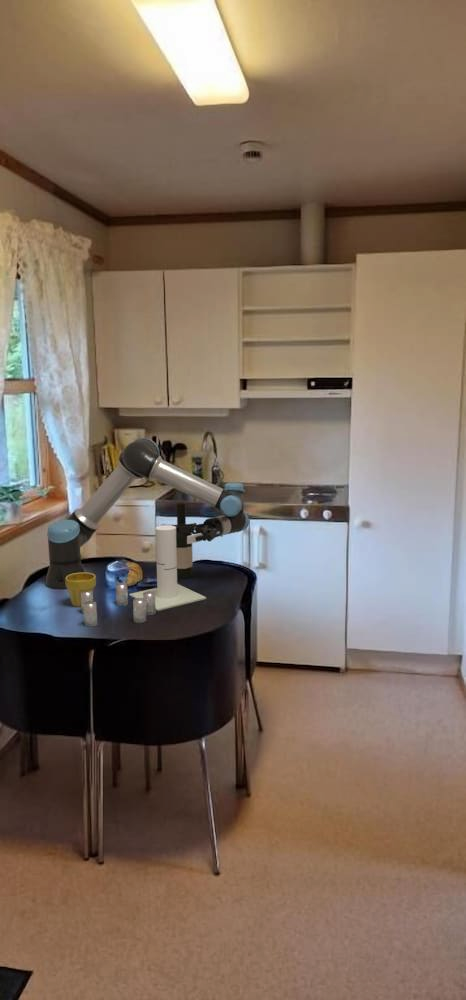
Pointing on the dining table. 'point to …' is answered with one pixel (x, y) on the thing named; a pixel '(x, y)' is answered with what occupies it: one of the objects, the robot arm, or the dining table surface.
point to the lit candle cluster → (139, 604)
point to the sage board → (181, 599)
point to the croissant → (133, 574)
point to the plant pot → (79, 585)
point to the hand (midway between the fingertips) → (174, 536)
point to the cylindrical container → (166, 561)
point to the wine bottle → (183, 547)
